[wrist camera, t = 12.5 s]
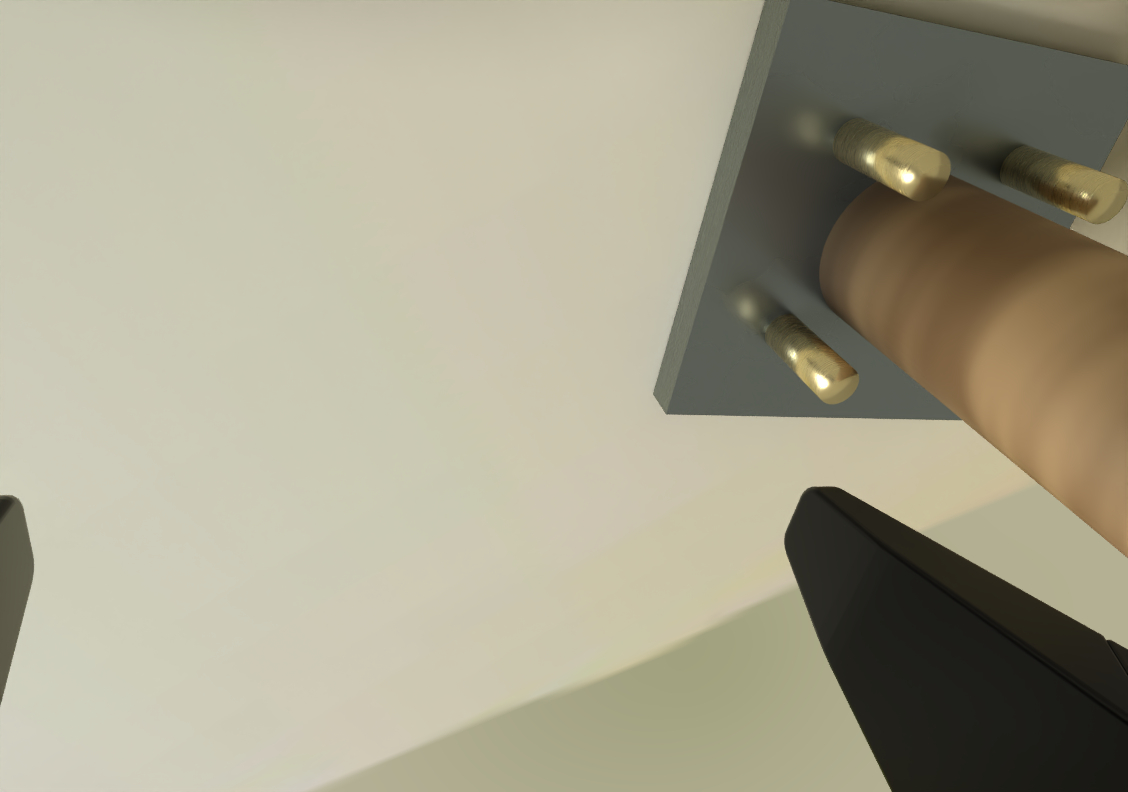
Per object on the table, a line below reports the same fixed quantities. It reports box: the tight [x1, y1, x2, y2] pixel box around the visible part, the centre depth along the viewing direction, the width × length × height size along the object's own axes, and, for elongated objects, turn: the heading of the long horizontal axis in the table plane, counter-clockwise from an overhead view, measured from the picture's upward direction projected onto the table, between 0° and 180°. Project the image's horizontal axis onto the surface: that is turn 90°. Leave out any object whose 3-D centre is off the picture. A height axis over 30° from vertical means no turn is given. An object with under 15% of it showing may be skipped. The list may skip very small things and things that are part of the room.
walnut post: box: [819, 175, 1128, 558], centre depth 18 cm, size 5×5×13 cm
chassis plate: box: [653, 0, 1128, 420], centre depth 22 cm, size 12×12×4 cm
